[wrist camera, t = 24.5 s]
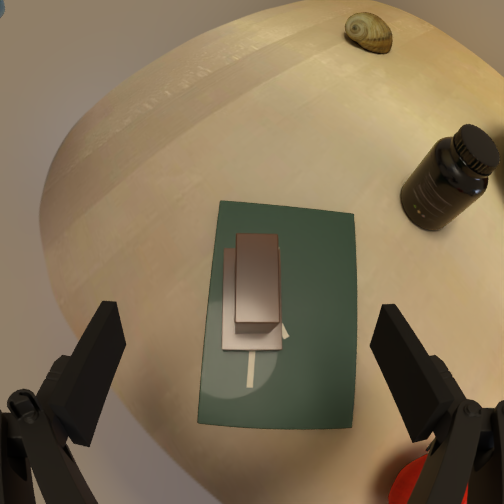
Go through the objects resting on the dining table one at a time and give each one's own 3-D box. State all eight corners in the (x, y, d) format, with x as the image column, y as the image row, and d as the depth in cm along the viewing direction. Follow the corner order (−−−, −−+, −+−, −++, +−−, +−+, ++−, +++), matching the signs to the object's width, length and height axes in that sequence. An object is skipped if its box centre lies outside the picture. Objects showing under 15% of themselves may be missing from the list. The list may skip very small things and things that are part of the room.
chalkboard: (198, 420, 24) (197, 423, 23) (220, 206, 31) (220, 199, 30) (347, 425, 25) (352, 427, 23) (350, 218, 31) (354, 213, 30)
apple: (347, 481, 23) (408, 534, 11) (427, 417, 25) (513, 429, 13) (387, 537, 20) (447, 588, 9) (458, 477, 22) (534, 501, 11)
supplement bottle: (417, 170, 34) (467, 106, 23) (455, 211, 33) (515, 157, 22) (387, 198, 33) (441, 130, 21) (429, 244, 31) (497, 191, 20)
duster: (278, 351, 26) (297, 344, 18) (222, 351, 25) (217, 344, 17) (276, 258, 28) (292, 215, 20) (224, 258, 28) (221, 213, 20)
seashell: (370, 53, 49) (360, 15, 45) (404, 51, 44) (393, 10, 39) (345, 58, 45) (333, 15, 40) (382, 55, 39) (369, 8, 35)
